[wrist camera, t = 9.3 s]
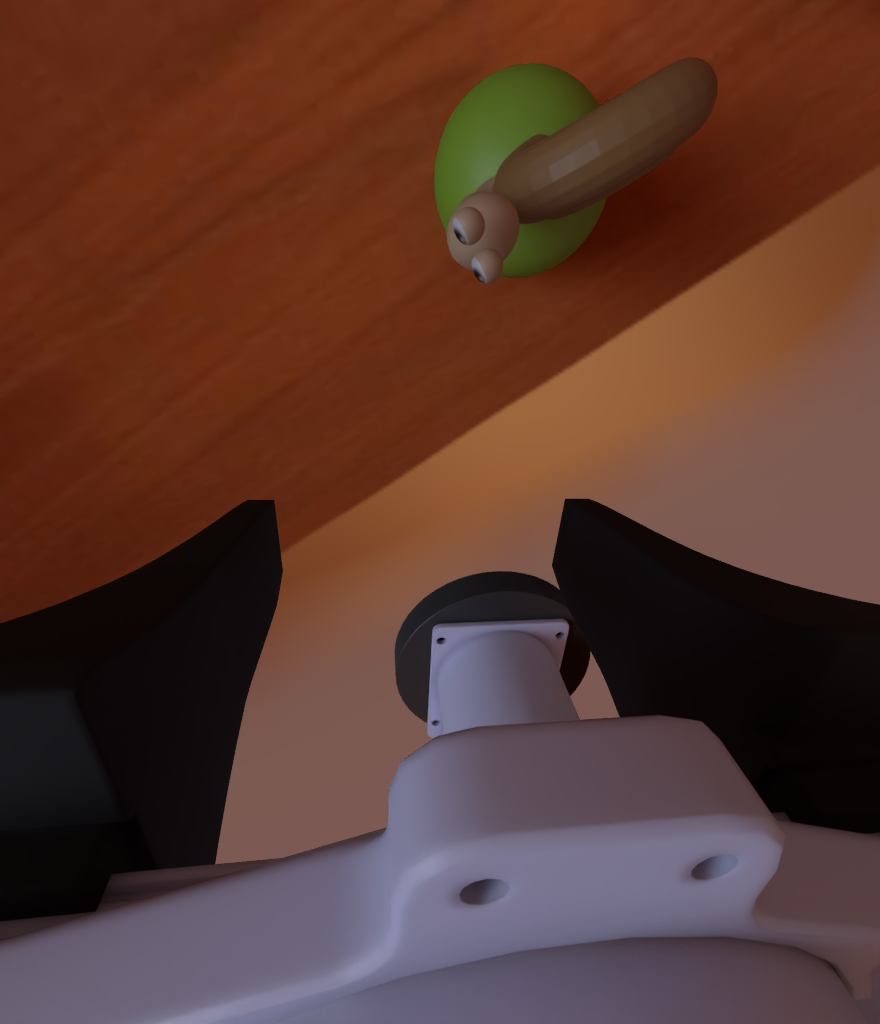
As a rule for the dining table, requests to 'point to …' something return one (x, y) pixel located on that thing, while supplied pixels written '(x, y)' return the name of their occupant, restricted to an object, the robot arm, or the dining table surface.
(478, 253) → the snail figurine
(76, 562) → the dining table surface
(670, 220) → the dining table surface
